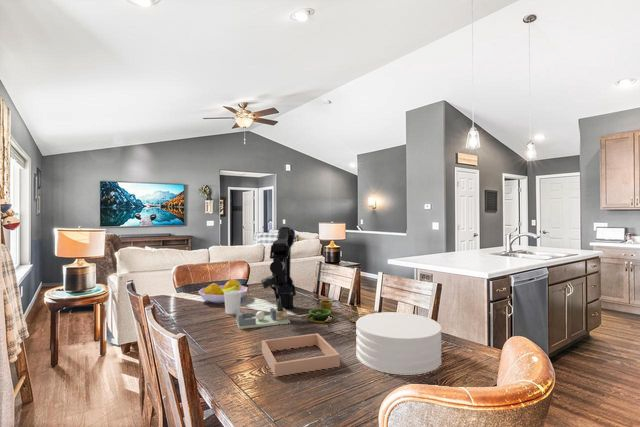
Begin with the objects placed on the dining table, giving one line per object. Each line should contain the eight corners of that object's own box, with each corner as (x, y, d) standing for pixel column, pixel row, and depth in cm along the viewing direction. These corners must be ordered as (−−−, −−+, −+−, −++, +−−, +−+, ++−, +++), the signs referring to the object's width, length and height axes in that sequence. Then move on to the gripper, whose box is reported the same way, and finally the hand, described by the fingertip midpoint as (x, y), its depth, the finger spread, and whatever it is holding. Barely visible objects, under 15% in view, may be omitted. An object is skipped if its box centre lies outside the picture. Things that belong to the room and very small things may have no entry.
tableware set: (294, 317, 169) (294, 303, 169) (340, 307, 185) (340, 295, 185) (353, 343, 136) (353, 326, 136) (402, 328, 152) (402, 313, 152)
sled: (283, 314, 166) (283, 297, 166) (287, 318, 161) (287, 300, 161) (270, 316, 164) (270, 298, 164) (272, 320, 159) (272, 301, 159)
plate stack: (426, 342, 135) (426, 311, 135) (454, 376, 107) (454, 338, 107) (352, 342, 135) (352, 312, 135) (361, 376, 107) (361, 338, 107)
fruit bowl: (195, 297, 206) (195, 277, 206) (242, 293, 218) (242, 274, 217) (201, 309, 181) (201, 287, 181) (254, 303, 192) (254, 282, 192)
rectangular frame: (318, 344, 133) (318, 333, 133) (339, 367, 114) (339, 354, 114) (261, 351, 126) (261, 340, 126) (274, 377, 107) (274, 364, 107)
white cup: (243, 310, 179) (242, 290, 179) (237, 315, 171) (237, 294, 171) (227, 310, 180) (227, 290, 180) (221, 314, 172) (221, 293, 172)
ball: (264, 318, 162) (263, 309, 162) (265, 320, 159) (265, 311, 159) (255, 319, 161) (255, 310, 161) (256, 321, 157) (256, 312, 157)
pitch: (283, 315, 169) (283, 304, 169) (290, 323, 158) (289, 310, 158) (235, 320, 162) (235, 308, 162) (239, 329, 151) (239, 315, 151)
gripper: (258, 268, 169) (258, 301, 169) (266, 274, 151) (266, 311, 151) (281, 266, 173) (281, 299, 173) (291, 273, 155) (292, 309, 155)
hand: (280, 304), depth 163 cm, fingers open, 9 cm apart
